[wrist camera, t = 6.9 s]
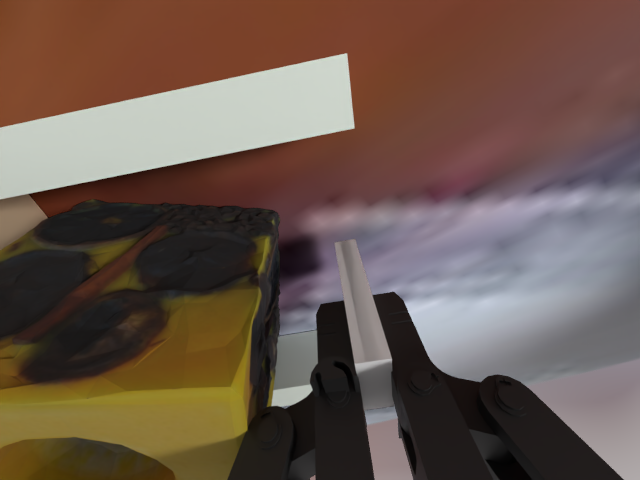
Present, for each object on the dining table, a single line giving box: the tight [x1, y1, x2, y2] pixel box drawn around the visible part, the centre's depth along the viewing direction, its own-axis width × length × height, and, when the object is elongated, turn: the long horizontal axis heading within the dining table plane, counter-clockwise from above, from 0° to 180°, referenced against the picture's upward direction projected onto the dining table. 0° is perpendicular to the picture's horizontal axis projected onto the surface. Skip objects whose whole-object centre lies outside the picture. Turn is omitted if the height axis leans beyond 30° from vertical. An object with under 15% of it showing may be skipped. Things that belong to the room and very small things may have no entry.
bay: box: [0, 53, 354, 407], centre depth 13 cm, size 18×18×5 cm
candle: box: [0, 199, 280, 480], centre depth 11 cm, size 10×10×10 cm
